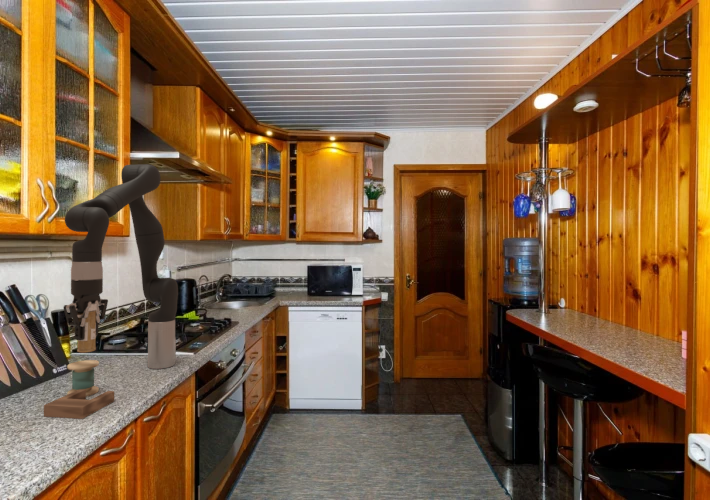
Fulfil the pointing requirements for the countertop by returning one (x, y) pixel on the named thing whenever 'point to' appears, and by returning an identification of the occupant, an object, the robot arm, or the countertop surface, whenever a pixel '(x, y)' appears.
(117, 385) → the countertop surface
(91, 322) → the sprinkles bottle
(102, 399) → the c-shaped block
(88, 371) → the bobbin
